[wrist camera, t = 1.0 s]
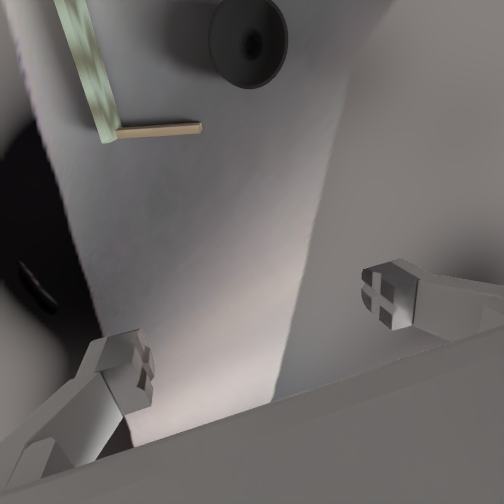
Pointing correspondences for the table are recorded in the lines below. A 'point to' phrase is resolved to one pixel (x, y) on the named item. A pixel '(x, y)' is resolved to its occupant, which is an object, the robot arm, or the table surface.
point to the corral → (103, 78)
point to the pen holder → (248, 41)
